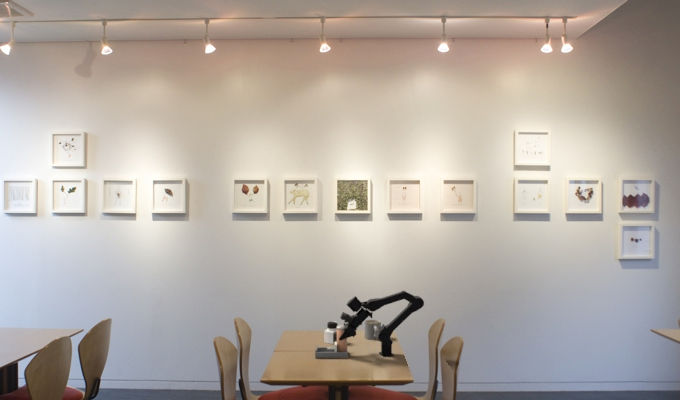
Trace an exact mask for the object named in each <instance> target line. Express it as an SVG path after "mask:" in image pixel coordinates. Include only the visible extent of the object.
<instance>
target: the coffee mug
mask: <svg viewBox="0 0 680 400" xmlns="http://www.w3.org/2000/svg"><path fill="white" fill-rule="evenodd" d="M381 326H382V321H381V320H379V319H367V320H366V319H365V320H364V339H366V340H367V341H368V340H370V341H376V340H377V341H378V340H379V339H378V336H377V331H378V328H380V327H381Z"/></svg>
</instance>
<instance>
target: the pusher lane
mask: <svg viewBox="0 0 680 400" xmlns="http://www.w3.org/2000/svg"><path fill="white" fill-rule="evenodd" d="M327 347H328V346H325V347H324V346H320V347H319V346H318V345H315V349H314V350H315V353H314V354H315V355H314V357H315V359H348V358H349V352H348V350H347V351H346V352H338V351H337V352H334V350H327Z"/></svg>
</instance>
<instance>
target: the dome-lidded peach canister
mask: <svg viewBox="0 0 680 400" xmlns="http://www.w3.org/2000/svg"><path fill="white" fill-rule="evenodd" d="M345 327H346V326H345V325H344V324H341V325H338V326H337V351H338V352H346V351H348V338H346V339H343V340H341V341H340V340H339V338H340V337H341V335H342V334H343V332H344V331H345Z"/></svg>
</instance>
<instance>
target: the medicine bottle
mask: <svg viewBox="0 0 680 400" xmlns="http://www.w3.org/2000/svg"><path fill="white" fill-rule="evenodd" d="M326 326H327V329H325V330H324V332H323V333H324V335H323V336H324V338H323V340H324V341H323V342H324V344H325V343H327V344H330V345H334V342H337V326H339V325H338V322H337V321H333V320H332V321H328V322H327V324H326Z"/></svg>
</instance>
